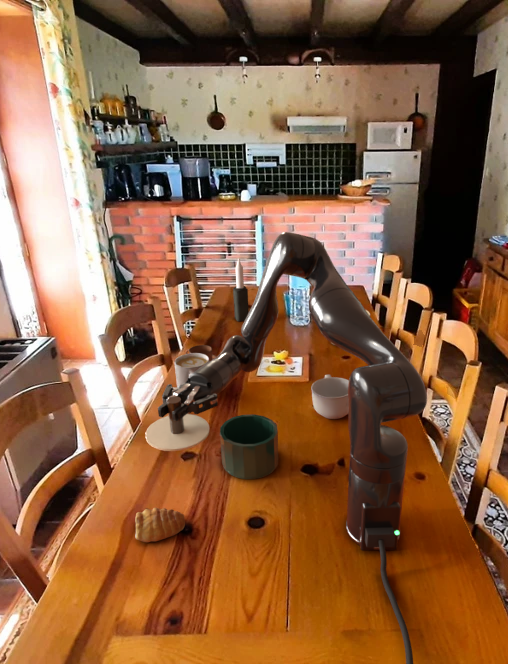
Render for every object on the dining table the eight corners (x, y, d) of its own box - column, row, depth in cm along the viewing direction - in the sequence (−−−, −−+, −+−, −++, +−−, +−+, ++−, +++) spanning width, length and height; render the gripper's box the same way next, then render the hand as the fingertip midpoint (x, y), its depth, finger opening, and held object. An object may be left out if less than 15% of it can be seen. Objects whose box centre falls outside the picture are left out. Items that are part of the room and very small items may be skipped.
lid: (207, 452, 98) (204, 415, 95) (140, 454, 98) (134, 418, 95) (211, 416, 111) (208, 383, 107) (152, 419, 111) (147, 386, 108)
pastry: (183, 512, 95) (181, 497, 94) (187, 538, 89) (185, 522, 88) (135, 521, 94) (132, 505, 92) (136, 547, 88) (133, 531, 86)
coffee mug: (181, 382, 147) (178, 353, 143) (213, 383, 146) (211, 352, 142) (171, 405, 135) (167, 373, 131) (206, 405, 134) (203, 373, 130)
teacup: (354, 425, 120) (355, 397, 117) (310, 422, 123) (310, 395, 120) (352, 398, 133) (353, 371, 130) (312, 396, 135) (312, 370, 132)
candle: (234, 318, 199) (230, 257, 189) (245, 316, 200) (242, 256, 191) (237, 321, 194) (234, 260, 185) (249, 319, 196) (247, 258, 186)
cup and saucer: (178, 374, 153) (176, 356, 151) (190, 358, 164) (188, 341, 162) (214, 376, 150) (213, 358, 148) (224, 360, 161) (223, 342, 159)
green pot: (280, 478, 103) (279, 445, 100) (221, 480, 104) (218, 447, 101) (276, 444, 115) (275, 413, 112) (223, 446, 115) (221, 415, 112)
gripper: (183, 360, 115) (137, 392, 102) (235, 370, 109) (193, 406, 95) (187, 388, 118) (142, 423, 104) (237, 399, 112) (196, 438, 98)
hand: (167, 415), depth 100 cm, fingers closed on lid, 3 cm apart
